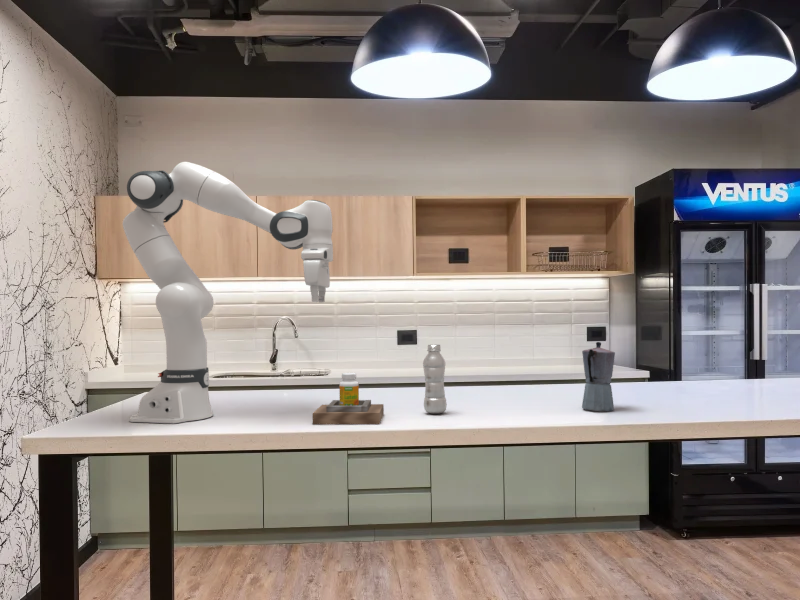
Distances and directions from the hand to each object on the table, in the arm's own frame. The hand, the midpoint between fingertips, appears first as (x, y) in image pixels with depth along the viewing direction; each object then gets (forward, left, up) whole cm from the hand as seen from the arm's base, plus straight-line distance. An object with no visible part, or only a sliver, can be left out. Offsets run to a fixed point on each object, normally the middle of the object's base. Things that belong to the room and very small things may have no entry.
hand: (318, 302), depth 167 cm
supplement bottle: (+10, -8, -30) cm, 33 cm away
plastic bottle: (+34, 0, -33) cm, 48 cm away
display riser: (+10, -8, -33) cm, 35 cm away
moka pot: (+82, +4, -33) cm, 89 cm away
